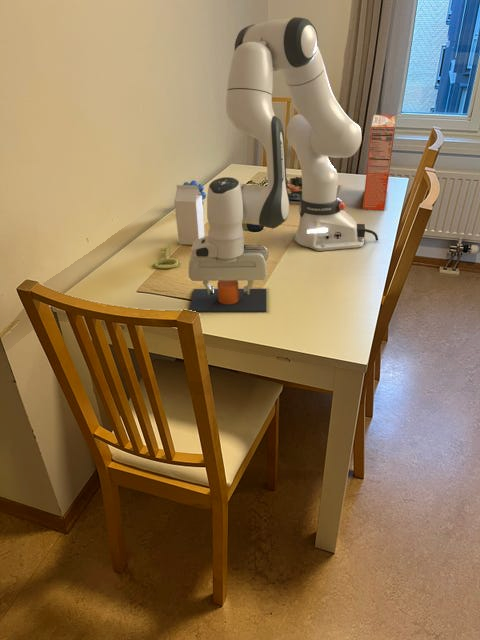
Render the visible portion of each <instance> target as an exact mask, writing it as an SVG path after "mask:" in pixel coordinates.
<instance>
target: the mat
mask: <svg viewBox="0 0 480 640" xmlns="http://www.w3.org/2000/svg"><path fill="white" fill-rule="evenodd" d="M238 289H239V300H238V302H236V303H234V304H229V305H227V304H222V303H220V302H219V301H218V288H214V295H208V289H207V288H194V289H193V293H192V297H191V301H190V304H189V305H190V306H189V309H188V311H189V310H192V311H196V312H195V313H267V288H250V289H249V295H244V288H238Z"/></svg>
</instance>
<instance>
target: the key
mask: <svg viewBox="0 0 480 640" xmlns="http://www.w3.org/2000/svg"><path fill="white" fill-rule="evenodd" d="M160 252H164V256H163V258H159V259H156V260H155V261H154V262H153V266H154V268H155V269H159V270H166V269H167V270H168V269H173V268H177V267H178V266H179V260H178V259H176V258H172V257H170V255H169V254H170V248H169V246H166V247H161V248H160ZM166 263H171V264H168V265H162V264H166Z"/></svg>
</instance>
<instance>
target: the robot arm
mask: <svg viewBox="0 0 480 640" xmlns="http://www.w3.org/2000/svg"><path fill="white" fill-rule="evenodd" d="M318 36H319V35H318V32H317V29H316V27H315V26H314V24H313V23H312V21H310V20H309V19H308V18H305V17H298V16H295V17H292V18H277V19H271V20H269V21H264V22H261V23H257V24H250V25H248V26H245V27H243V28H242V29H241V30H240V31H239V32H238V34H237V35H236V38H235V41H234V52H233V54H232V59H231V62H230V67H229V72H228V78H227V87H226V97H225V111H226V115H227V117H228V119H229V121H230V123H231V124H232V125H233V126H234V127H235V128H236V129H238V130H239V131H240V132H242V133H244V134H246V135H248V136H250V137H252V138H254V139H256V140H257V141H258V142H260V144H261V145H262V146H263V148H264V150H265V158H266V173H267V174H266V179H267V181H268V184H267V186H259V185H254V184H248V183H240V181H239V180H238V179H236V178H235V177H228V176H227V177H225V176H224V177H220V178H216V179H214V180H212V181H211V182H210V183H209V185H208V187H207V193H206V218H207V222H208V226H209V228H208V233H207V236H206V235H205V237H203V238H200V239H197V240H195V241H194V243H193V245H191V255H190V258H189V262H188V278H189V279H190V281H192V282H197V281H198V282H202V285H203V286H204V287H205V289H208V295H214V289H215V285H213V286H211V284H210V283H209V282H214V281H215V282H218V281H238V282H240V281H247V284H246V285H244V286H243V289H244V295H249V289H252V287H253V285H254V281H265V279H267V277H268V271H267V260H268V259H269V250H268V248H267V247H266V246H263V245H262V244H245V231H244V228H243V224H248V225H256V226H260V227H263V228H264V227H265V228H268V229H273V230H274V229H276V228H278V227H279V226H281V225H282V224H284V223H285V222H286V221H287V220H288V217H289V212H290V203H289V198H288V191H287V181H286V177H287V163H286V145H285V134H286V140H287V142H288V143H289V145H290V146H291V147H292V149H293V150H294V152H295V154H296V157H297V159H298V163H299V167H300V171H301V177H302V197H301V198H300V204H299V222H298V228H297V232H296V235H295V238H294V240H295V242H296V243H297V244H299V245H300V246H303V247H307V248H309V249H310V248H311V249H312V250H314V251H317V252H322V251H323V252H324V251H335V250H345V249H356V248H357V249H358V248H362V247H363V246H364V244H365V235H366V233H367V234H368V233H369V234H372V235H373V236H374V239H375V242H377V241H379V236H378V234H377V233H376V232H375V231H373V230H371V229H367V228H366V224H365V223H357V221H356V220H355V218H354V217H353V216H351V215H350V214H349V213H348V212H346V211H344V210H345V209H346V206H347V205H346V204H345V202H343V200H342V199H341V198H340V197H337V196H338V190H337V186H339V185H338V184H339V174H338V172H337V169H336V168H334V166H333V165H332V163H331V162H330V159H329V158H334V159H345V158H346V159H347V158H351V157H353V156H354V155H355V154H356V153H357V152H358V150H359V149H360V147H361V144H362V140H363V139H362V138H363V136H362V130H361V127H360V126H359V124H358V123H356V122H355V121H354V120H353V119H351V118H350V117H349V116H348V115H347V113H346V112H345V111H344V110H343V108H342V106H341V105H340V104H339V102H338V100H337V99H336V97H335V95H334V93H333V91H332V88H331V85H330V80H329V77H328V74H327V71H326V66H325V63H324V59H323V56H322V53H321V51H320V48H319V40H318V39H319V38H318ZM281 70H282V73H283V74H282V75H283V78H284V81H285V84H286V87H287V91H288V94H289V97H290V100H291V103H292V107H293V108H294V110H295V111H296V112H297V113H298V114H295V115H294V116H292V117H291V119H290V120H289V121H288V123H287V126H286V133H284V128H283V127H284V126H283V124H282V121H281V119H280V118H279V117H277V116H276V114H275V112H274V108H273V90H274V72H277V71H281Z"/></svg>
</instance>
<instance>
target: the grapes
mask: <svg viewBox="0 0 480 640" xmlns="http://www.w3.org/2000/svg"><path fill="white" fill-rule="evenodd" d="M182 185H192V186H198V189H199V191H200V193H201V194H202V206H203V207H204V200H205V199H207V193H206V192H205V191H204V188H205V187H204V185H203V184H201V183H198V182H197V180H194V179H193V180H191V181H190V182H188V181H185V182H184V183H182Z"/></svg>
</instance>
